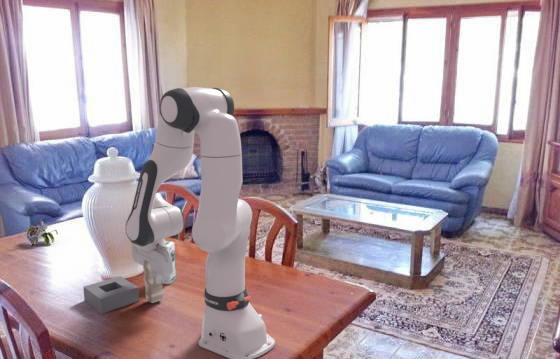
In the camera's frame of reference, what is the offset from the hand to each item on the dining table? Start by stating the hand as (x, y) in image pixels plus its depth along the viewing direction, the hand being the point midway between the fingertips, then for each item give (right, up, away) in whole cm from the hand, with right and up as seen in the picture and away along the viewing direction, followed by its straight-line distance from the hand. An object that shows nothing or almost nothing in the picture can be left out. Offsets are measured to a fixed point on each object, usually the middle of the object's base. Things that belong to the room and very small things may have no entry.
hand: (153, 280), depth 162 cm
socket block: (-14, -7, +2) cm, 16 cm away
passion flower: (-66, +4, +59) cm, 89 cm away
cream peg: (0, -7, +1) cm, 7 cm away
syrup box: (0, -4, +18) cm, 19 cm away
